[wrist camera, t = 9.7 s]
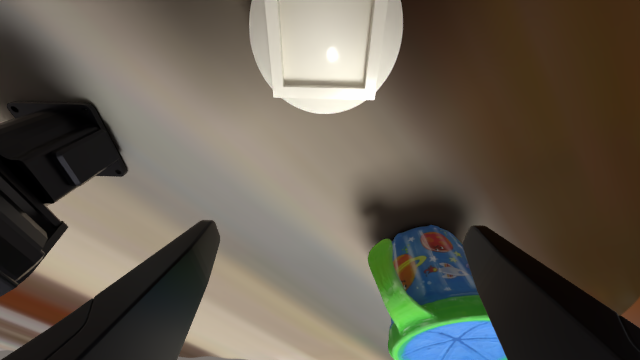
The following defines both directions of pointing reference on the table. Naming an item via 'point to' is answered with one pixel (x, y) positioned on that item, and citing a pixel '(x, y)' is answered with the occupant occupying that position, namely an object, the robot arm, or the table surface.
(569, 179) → the table surface
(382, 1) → the cup
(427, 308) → the snack cup
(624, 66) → the table surface
